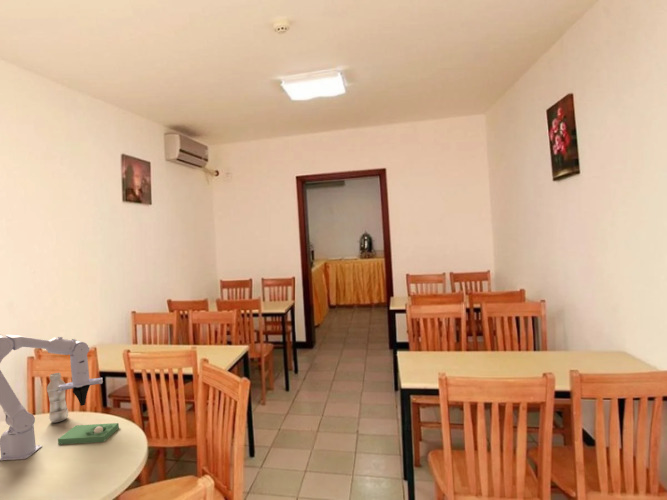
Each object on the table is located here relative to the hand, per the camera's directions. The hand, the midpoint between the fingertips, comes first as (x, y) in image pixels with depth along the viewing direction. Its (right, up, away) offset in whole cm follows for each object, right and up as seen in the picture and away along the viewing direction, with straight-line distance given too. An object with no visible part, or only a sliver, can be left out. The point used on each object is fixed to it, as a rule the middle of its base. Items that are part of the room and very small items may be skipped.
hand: (83, 404), depth 154 cm
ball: (+10, -8, -5) cm, 14 cm away
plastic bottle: (-15, -11, +9) cm, 21 cm away
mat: (+6, -10, -5) cm, 13 cm away
